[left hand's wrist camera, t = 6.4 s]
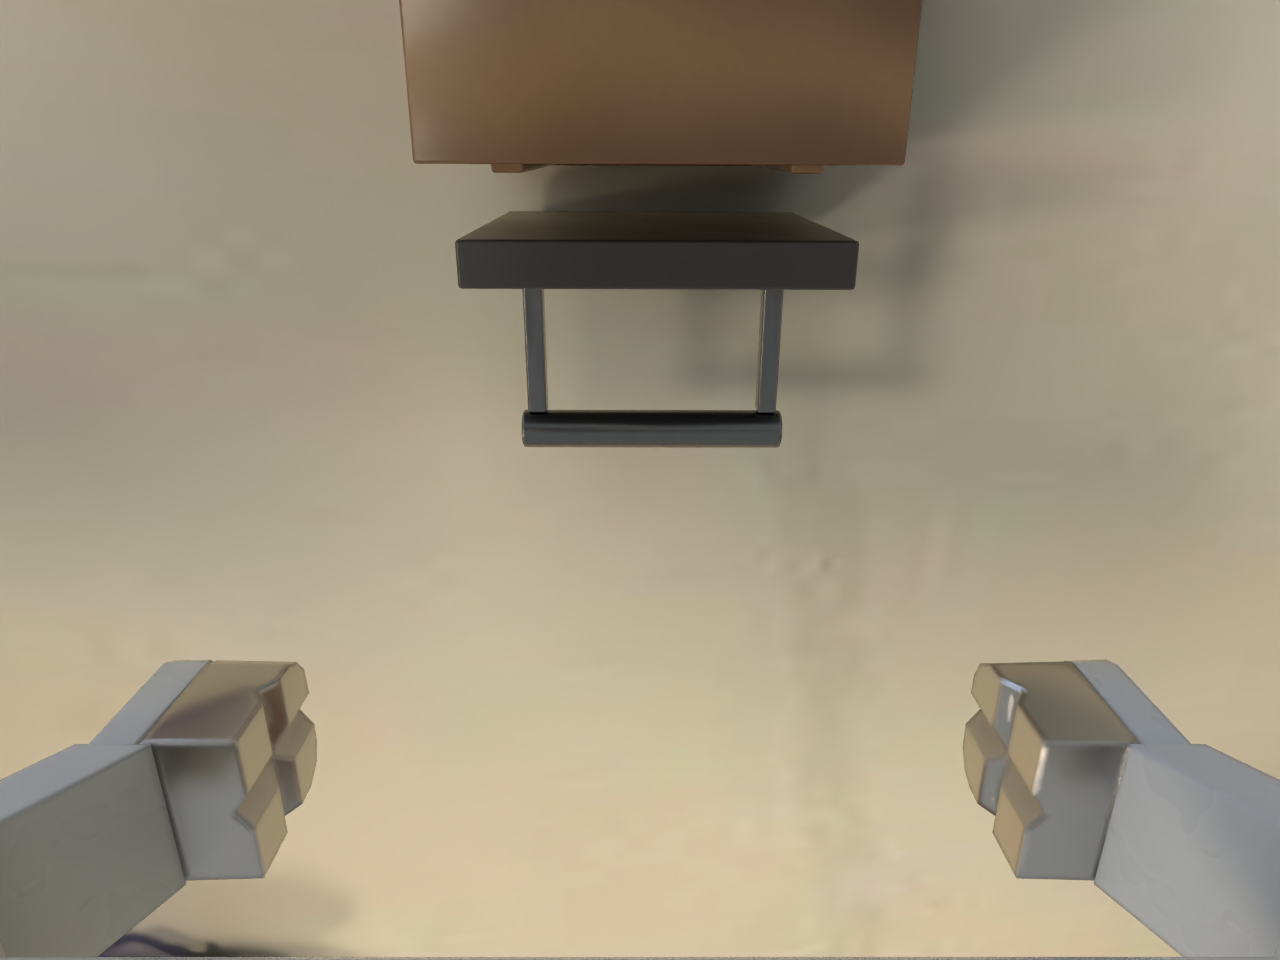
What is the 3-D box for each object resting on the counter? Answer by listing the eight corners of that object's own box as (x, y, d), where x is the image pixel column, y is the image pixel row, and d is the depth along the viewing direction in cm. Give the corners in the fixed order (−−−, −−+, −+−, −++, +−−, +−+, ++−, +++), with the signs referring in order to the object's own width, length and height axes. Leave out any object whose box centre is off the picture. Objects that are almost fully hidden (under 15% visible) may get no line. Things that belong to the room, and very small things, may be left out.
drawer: (780, 407, 32) (835, 506, 24) (518, 406, 32) (473, 505, 24) (832, -370, 24) (946, -669, 15) (478, -372, 24) (387, -673, 15)
